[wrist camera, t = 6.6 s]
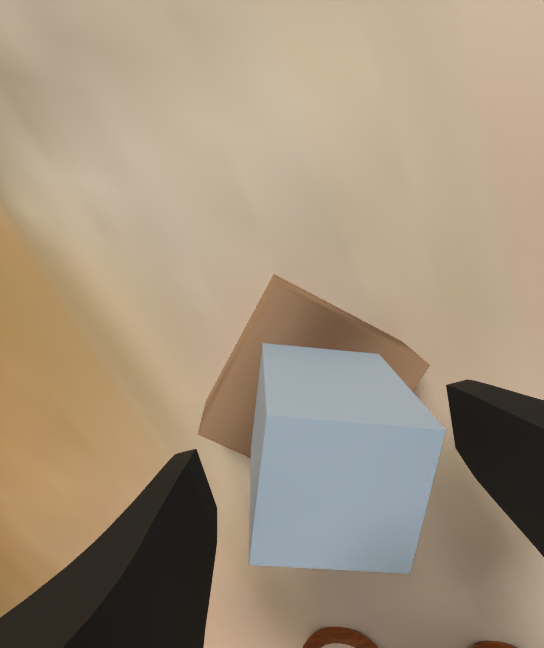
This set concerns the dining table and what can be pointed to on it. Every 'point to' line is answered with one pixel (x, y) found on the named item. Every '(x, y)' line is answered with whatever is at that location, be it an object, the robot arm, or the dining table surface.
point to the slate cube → (338, 462)
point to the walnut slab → (294, 330)
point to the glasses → (365, 639)
